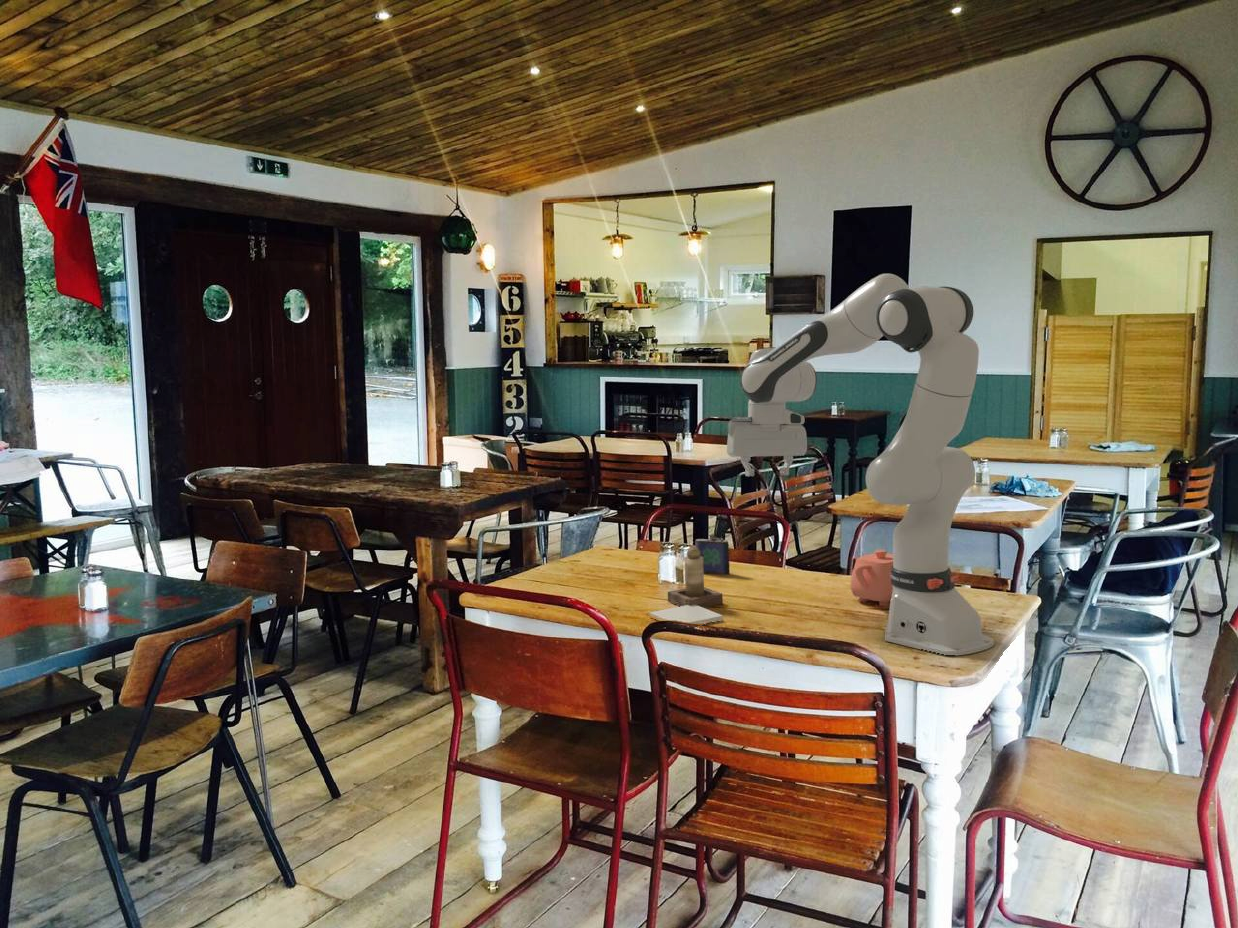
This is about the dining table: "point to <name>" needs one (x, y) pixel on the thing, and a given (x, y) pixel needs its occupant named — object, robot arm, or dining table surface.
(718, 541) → the flask
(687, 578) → the mill
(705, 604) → the holder
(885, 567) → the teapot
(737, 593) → the dining table surface
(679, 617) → the board
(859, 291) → the robot arm
